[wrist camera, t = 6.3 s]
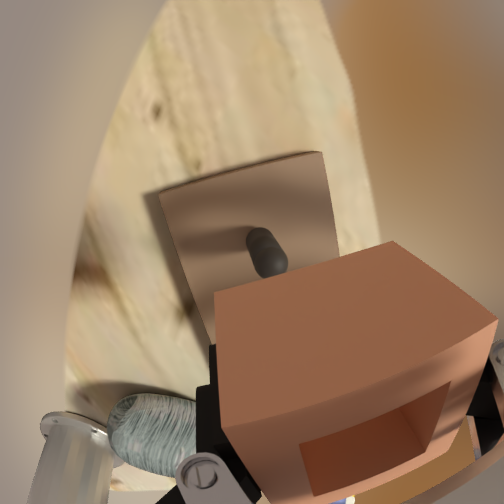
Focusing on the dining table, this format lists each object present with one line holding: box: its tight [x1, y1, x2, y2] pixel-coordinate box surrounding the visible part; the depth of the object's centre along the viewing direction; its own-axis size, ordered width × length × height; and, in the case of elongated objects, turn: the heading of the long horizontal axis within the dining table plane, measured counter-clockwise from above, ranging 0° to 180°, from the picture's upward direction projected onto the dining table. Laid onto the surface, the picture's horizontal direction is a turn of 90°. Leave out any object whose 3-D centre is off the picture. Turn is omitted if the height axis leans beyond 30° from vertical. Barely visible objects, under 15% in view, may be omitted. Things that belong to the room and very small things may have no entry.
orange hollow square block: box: [214, 241, 498, 504], centre depth 8 cm, size 6×6×5 cm
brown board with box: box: [158, 151, 340, 345], centre depth 22 cm, size 20×12×8 cm, turn 14°
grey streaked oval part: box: [107, 393, 196, 478], centre depth 26 cm, size 14×10×10 cm
